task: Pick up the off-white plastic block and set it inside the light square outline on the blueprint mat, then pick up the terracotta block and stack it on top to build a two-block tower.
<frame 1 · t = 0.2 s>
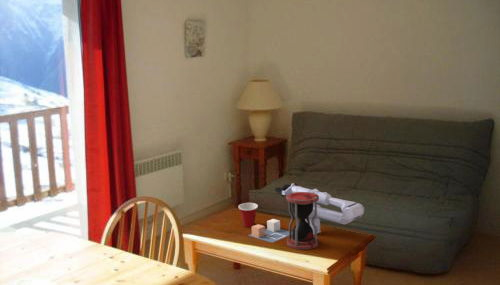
hand: (280, 187, 308), 21 cm above the table, tool horizontal, fingers open, 7 cm apart
offwhite block: (273, 229, 302), resting on blueprint mat
plastic cup: (248, 226, 310), on the table
terracotta block: (258, 235, 294), resting on blueprint mat
hourglass: (302, 244, 281), on the table
blueprint mat: (271, 234, 295), on the table
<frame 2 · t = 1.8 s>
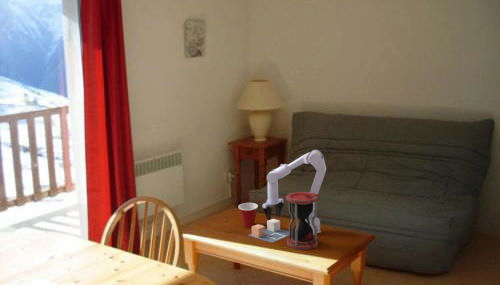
hand: (273, 218, 301), 7 cm above the table, tool pointing down, fingers open, 7 cm apart
nothing on the table moved.
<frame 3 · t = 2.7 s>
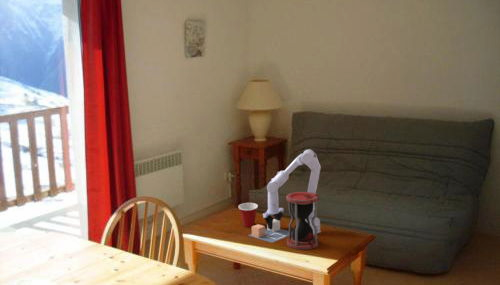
hand: (273, 227, 302), 2 cm above the table, tool pointing down, fingers closed on offwhite block, 5 cm apart
offwhite block: (273, 229, 302), resting on blueprint mat, touching gripper
everything else where it was.
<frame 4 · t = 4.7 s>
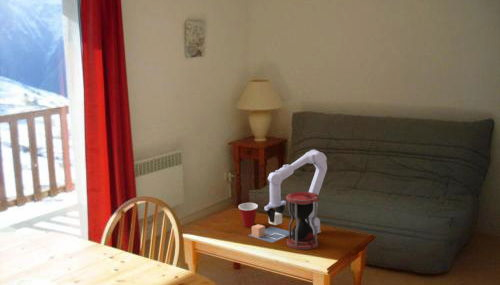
hand: (275, 220, 291), 8 cm above the table, tool pointing down, fingers closed on offwhite block, 5 cm apart
offwhite block: (275, 223, 292), point 7 cm above the table, touching gripper
everything else where it was.
when the fingers open (2 cm above the table, at t = 6.5 s): offwhite block stays where it is, resting on blueprint mat.
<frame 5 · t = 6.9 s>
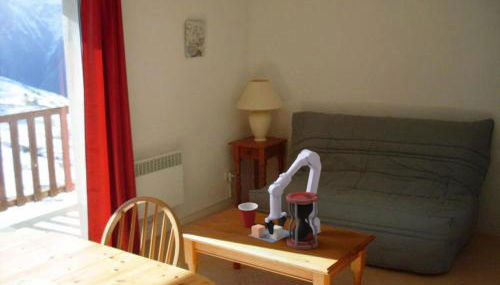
hand: (276, 232, 291), 2 cm above the table, tool pointing down, fingers open, 7 cm apart
offwhite block: (276, 236, 292), resting on blueprint mat
everything else where it was.
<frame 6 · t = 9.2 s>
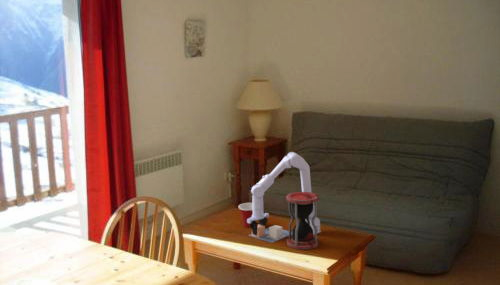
hand: (258, 233, 293), 2 cm above the table, tool pointing down, fingers closed on terracotta block, 5 cm apart
terracotta block: (258, 235, 294), resting on blueprint mat, touching gripper
everything else where it was.
when the fingers open (7 cm above the table, at t = 12.4 s): terracotta block stays where it is, resting on offwhite block.
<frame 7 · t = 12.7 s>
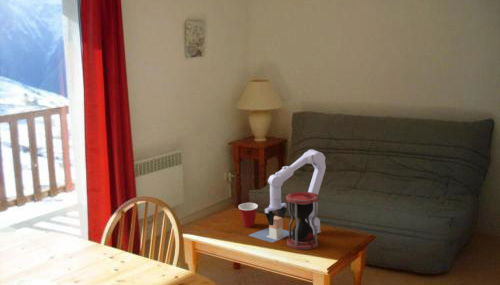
hand: (275, 223, 290), 7 cm above the table, tool pointing down, fingers open, 7 cm apart
offwhite block: (276, 236, 292), resting on blueprint mat, touching terracotta block
terracotta block: (276, 227, 291), point 5 cm above the table, touching offwhite block
everything else where it was.
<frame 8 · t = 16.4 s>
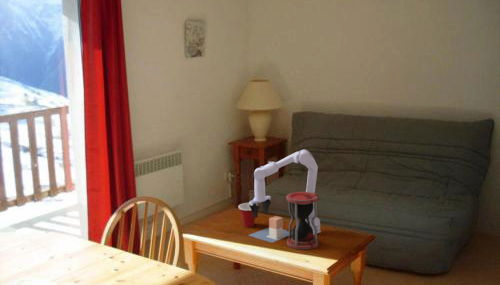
hand: (260, 215, 298), 9 cm above the table, tool pointing down, fingers open, 7 cm apart
nothing on the table moved.
at the end: offwhite block 0.1 cm from the target spot, resting on blueprint mat; terracotta block 0.1 cm off-centre on the offwhite block, point 5.0 cm above the offwhite block's base; terracotta block tilted 0° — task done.
